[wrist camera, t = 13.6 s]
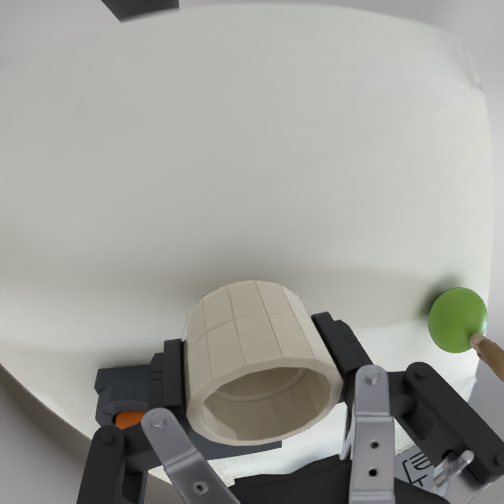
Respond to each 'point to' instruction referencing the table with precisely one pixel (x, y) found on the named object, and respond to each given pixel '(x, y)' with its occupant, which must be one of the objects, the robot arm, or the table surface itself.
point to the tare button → (128, 418)
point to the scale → (136, 399)
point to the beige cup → (255, 365)
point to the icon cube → (415, 469)
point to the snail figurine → (464, 327)
